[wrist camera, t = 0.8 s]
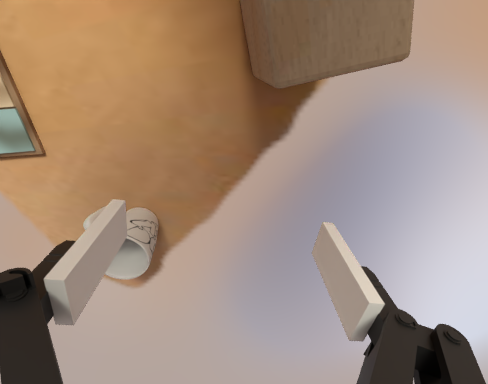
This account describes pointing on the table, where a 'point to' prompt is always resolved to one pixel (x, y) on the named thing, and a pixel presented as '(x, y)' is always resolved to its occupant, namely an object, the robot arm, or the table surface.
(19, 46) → the table surface
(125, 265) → the mug
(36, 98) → the table surface
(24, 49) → the table surface
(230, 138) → the table surface
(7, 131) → the track
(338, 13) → the wooden block
